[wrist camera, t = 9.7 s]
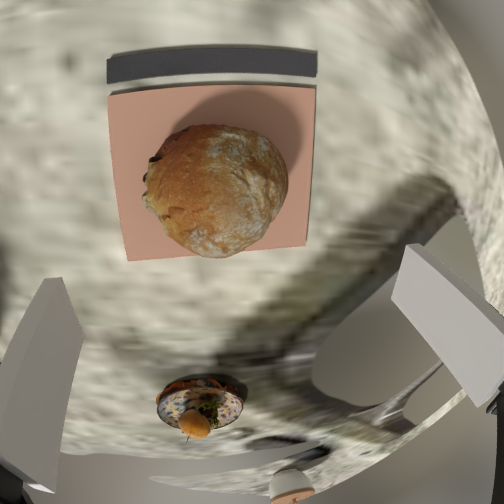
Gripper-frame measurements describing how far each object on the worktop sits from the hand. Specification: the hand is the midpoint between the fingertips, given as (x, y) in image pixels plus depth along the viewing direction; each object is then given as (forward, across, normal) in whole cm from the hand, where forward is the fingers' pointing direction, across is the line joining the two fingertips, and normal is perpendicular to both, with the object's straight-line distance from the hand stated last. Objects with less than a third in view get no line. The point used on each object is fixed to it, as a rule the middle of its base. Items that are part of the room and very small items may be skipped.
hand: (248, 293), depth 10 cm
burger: (+15, -4, -29) cm, 33 cm away
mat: (+15, 0, +1) cm, 15 cm away
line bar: (+15, 0, +10) cm, 18 cm away
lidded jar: (+14, +12, -69) cm, 72 cm away
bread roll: (+15, 0, 0) cm, 15 cm away
